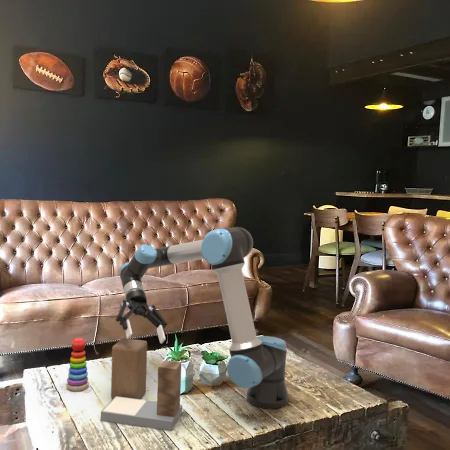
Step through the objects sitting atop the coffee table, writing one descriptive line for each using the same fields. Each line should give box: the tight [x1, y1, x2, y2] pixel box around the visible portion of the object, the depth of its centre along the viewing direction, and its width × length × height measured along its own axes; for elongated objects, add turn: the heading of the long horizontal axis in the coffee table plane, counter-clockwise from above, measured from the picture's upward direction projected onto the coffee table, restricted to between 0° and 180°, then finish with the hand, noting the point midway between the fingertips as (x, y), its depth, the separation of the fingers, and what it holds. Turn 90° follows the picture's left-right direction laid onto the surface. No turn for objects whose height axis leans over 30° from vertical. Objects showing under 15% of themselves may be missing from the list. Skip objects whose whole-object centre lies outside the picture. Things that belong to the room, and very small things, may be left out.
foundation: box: [100, 396, 183, 432], centre depth 166 cm, size 24×12×3 cm, turn 79°
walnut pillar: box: [156, 360, 182, 417], centre depth 164 cm, size 6×6×16 cm
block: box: [110, 337, 148, 401], centre depth 180 cm, size 10×10×20 cm
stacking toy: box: [66, 337, 90, 392], centre depth 186 cm, size 8×8×19 cm
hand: (146, 338), depth 178 cm, fingers open, 13 cm apart
